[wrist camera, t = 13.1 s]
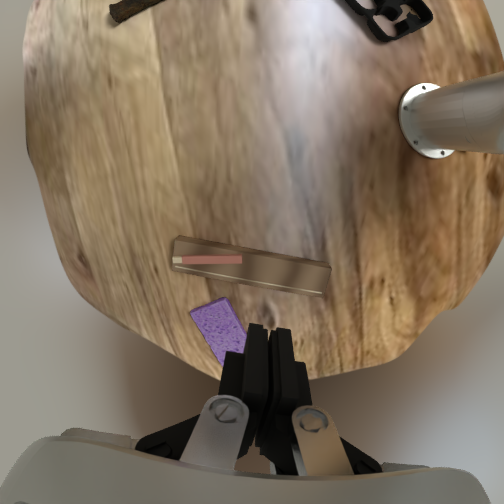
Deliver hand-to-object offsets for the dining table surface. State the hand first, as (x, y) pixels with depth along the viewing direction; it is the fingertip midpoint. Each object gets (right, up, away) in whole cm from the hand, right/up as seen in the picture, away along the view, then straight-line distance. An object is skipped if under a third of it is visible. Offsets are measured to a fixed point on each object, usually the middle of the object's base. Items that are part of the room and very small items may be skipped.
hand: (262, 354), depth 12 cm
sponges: (-5, -10, +41) cm, 43 cm away
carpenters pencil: (-6, +3, +34) cm, 34 cm away
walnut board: (-1, +2, +36) cm, 36 cm away
